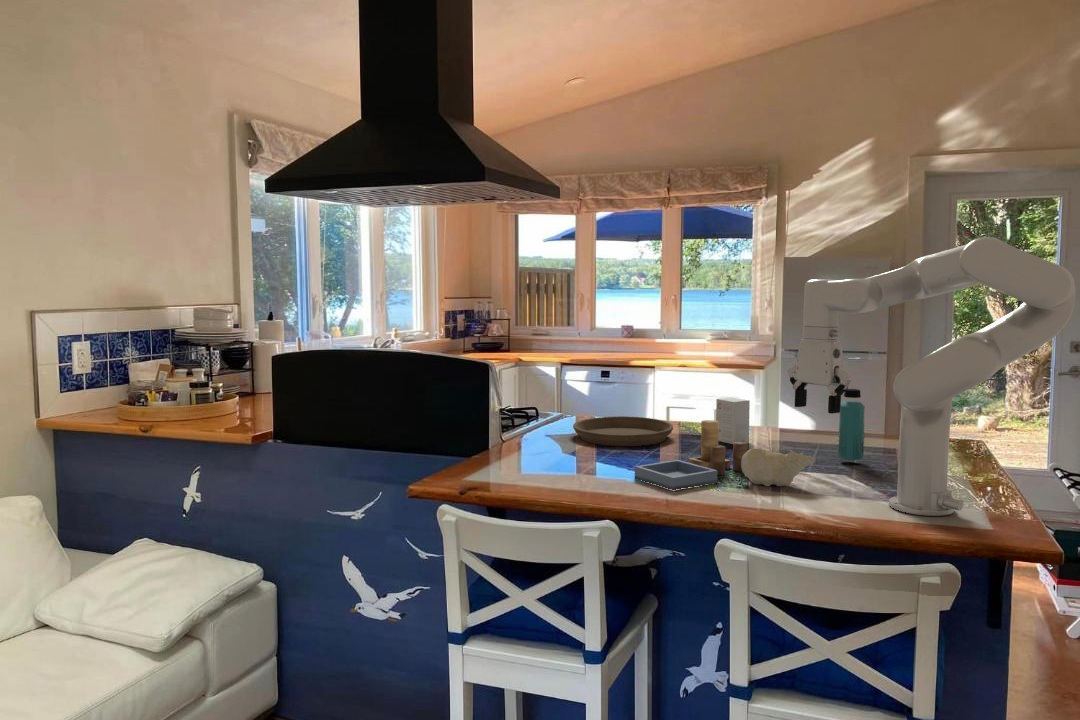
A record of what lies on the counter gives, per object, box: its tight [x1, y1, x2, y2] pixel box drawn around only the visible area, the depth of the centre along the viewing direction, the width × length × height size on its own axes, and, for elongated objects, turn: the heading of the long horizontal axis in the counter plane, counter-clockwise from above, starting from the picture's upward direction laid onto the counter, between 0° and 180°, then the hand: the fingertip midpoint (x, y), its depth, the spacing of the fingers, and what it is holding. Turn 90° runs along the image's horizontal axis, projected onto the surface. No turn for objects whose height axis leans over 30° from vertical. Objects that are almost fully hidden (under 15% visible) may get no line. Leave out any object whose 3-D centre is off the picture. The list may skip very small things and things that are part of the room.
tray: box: [634, 459, 718, 490], centre depth 195 cm, size 14×14×3 cm
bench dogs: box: [710, 442, 749, 476], centre depth 204 cm, size 4×12×7 cm, turn 122°
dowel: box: [700, 419, 719, 463], centre depth 210 cm, size 4×4×12 cm
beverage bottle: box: [837, 388, 865, 461], centre depth 214 cm, size 6×7×20 cm
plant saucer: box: [572, 415, 674, 447], centre depth 251 cm, size 31×31×5 cm
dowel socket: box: [688, 456, 731, 469], centre depth 210 cm, size 8×8×2 cm
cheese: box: [741, 447, 817, 487], centre depth 192 cm, size 15×7×15 cm
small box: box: [715, 397, 751, 445], centre depth 244 cm, size 8×6×13 cm
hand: (816, 409), depth 182 cm, fingers open, 9 cm apart
